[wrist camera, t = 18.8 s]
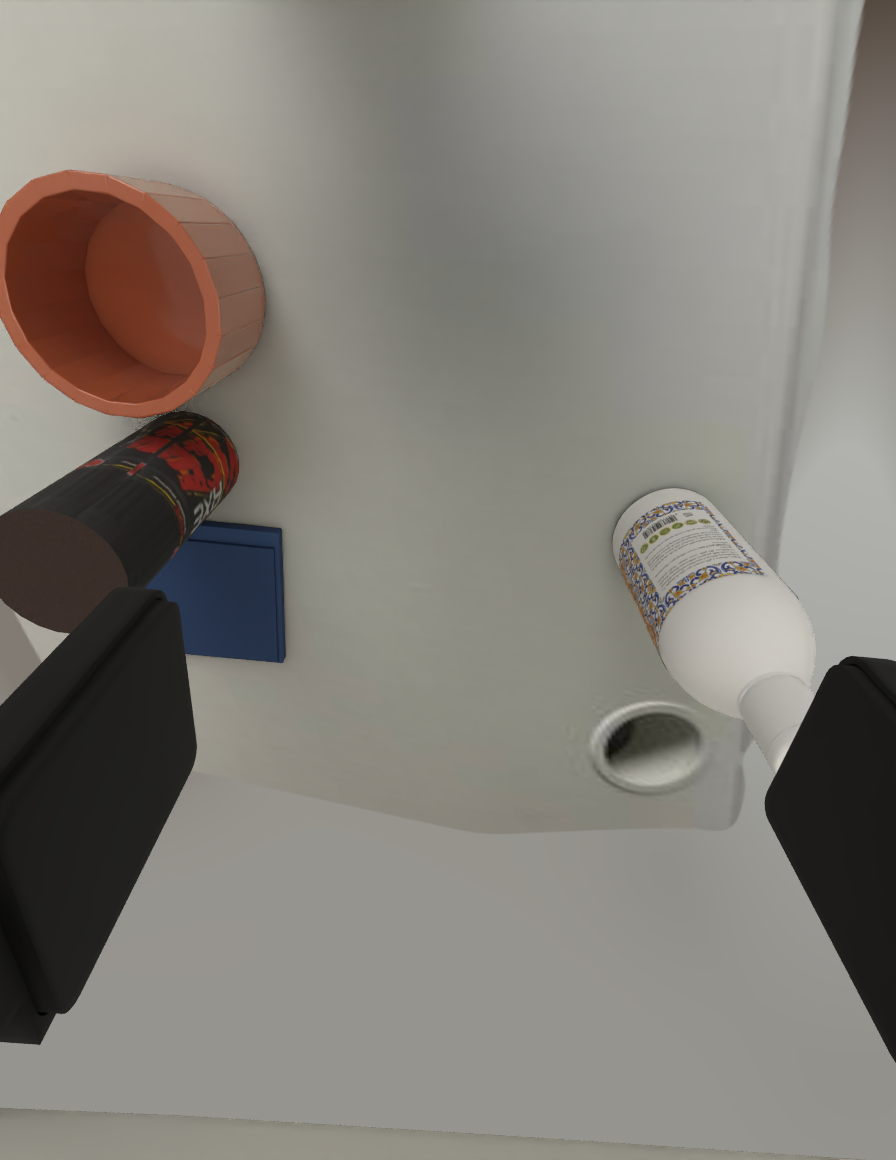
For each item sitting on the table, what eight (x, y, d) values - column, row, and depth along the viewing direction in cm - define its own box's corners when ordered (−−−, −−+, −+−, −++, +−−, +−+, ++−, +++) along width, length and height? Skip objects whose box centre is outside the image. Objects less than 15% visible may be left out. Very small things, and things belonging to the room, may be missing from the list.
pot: (63, 171, 32) (-40, 156, 25) (261, 195, 32) (211, 186, 26) (97, 374, 37) (18, 405, 30) (269, 392, 37) (228, 428, 30)
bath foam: (588, 546, 41) (680, 776, 24) (663, 464, 39) (829, 657, 21) (664, 598, 43) (801, 847, 26) (741, 523, 40) (953, 747, 23)
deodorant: (245, 504, 40) (142, 635, 27) (153, 502, 40) (7, 632, 27) (231, 412, 38) (109, 509, 24) (132, 410, 38) (-42, 506, 24)
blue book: (112, 511, 41) (104, 518, 40) (281, 528, 41) (277, 535, 40) (135, 643, 46) (128, 651, 45) (285, 656, 46) (282, 665, 45)
